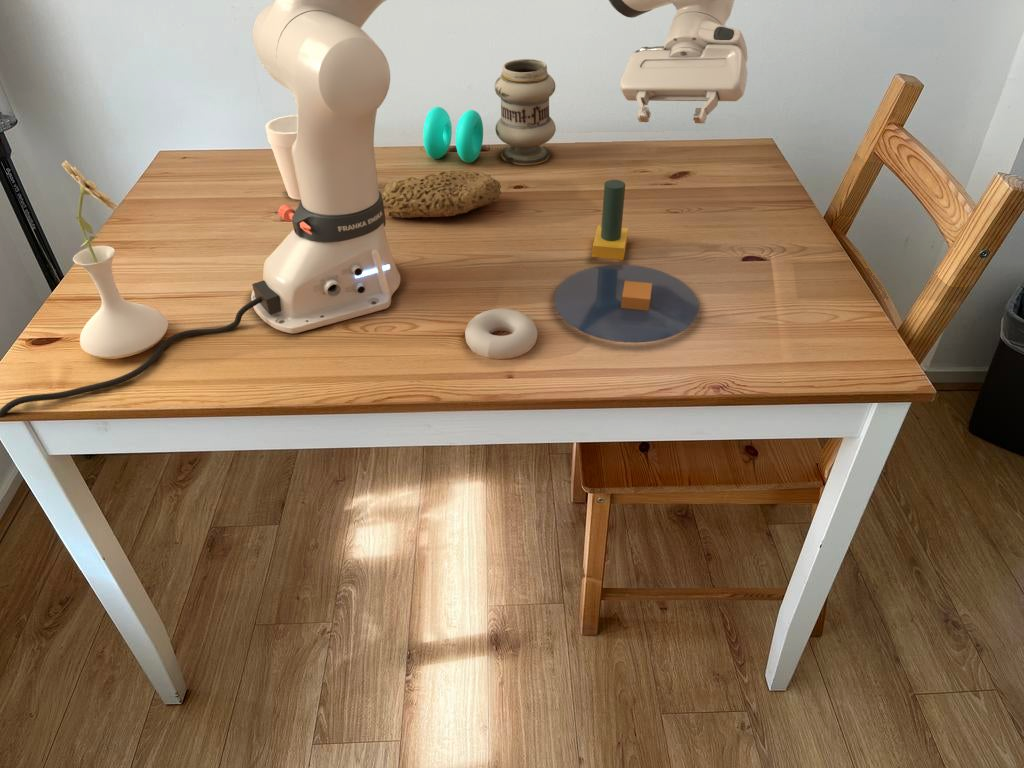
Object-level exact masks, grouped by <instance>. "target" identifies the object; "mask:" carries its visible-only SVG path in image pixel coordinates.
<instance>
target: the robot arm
mask: <svg viewBox="0 0 1024 768" xmlns="http://www.w3.org/2000/svg"><path fill="white" fill-rule="evenodd" d="M386 1H387V0H274V1H272V3H270V4H268V5H267V6H266V7H264V8H263V9H262V10H261V11H260V12H259V13H258V15H257V17H256V19H255V21H254V24H253V28H252V37H251V39H252V45H253V49H254V52H255V54H256V56H257V58H258V60H259V62H260V63H261V65H262V67H263V69H264V70H265V71H266V73H267V74H268V75H269V76H270V77H271V79H273V80H274V81H275V82H277V83H278V84H279V85H281V86H282V87H284V88H285V89H287V90H289V91H290V93H291V95H292V98H293V100H294V103H295V107H296V115H297V137H296V141H295V142H294V144H293V146H292V157H293V162H294V167H295V172H296V177H297V182H298V187H299V192H300V197H301V199H300V200H299V202H298V205H297V208H296V210H295V209H294V208H292V206H289V205H288V204H282V205H280V206H279V208H278V209H277V214H278V216H279V218H281V219H283V221H284V222H286V223H292V227H293V229H292V230H291V231H290V232H289V234H288V235H287V236H286V237H285V238H284V239H283V240H282V241H281V242H280V244H279V245H278V246H277V247H276V248H275V249H273V251H272V253H270V254H269V256H268V257H266V259H265V260H264V263H263V267H262V269H263V270H262V280H260V281H257V282H254V283H252V284H251V286H252V292H251V294H250V295H251V296H250V298H251V301H249V302H248V303H246V304H245V305H243V306H242V307H241V308H240V309H239V310H237V312H236V315H235V319H234V320H233V322H231V323H230V324H227V325H225V326H222V327H217V328H199V329H198V328H196V329H187V330H184V331H180V332H177V333H175V334H173V335H171V336H169V337H167V338H166V339H165V340H164V341H162V342H161V343H160V344H159V345H158V346H157V347H156V348H155V349H154V351H153V352H152V353H151V355H149V357H148V358H147V359H146V361H145V362H143V363H142V364H141V365H140V366H138V367H137V368H135V369H133V370H132V371H129V372H127V373H125V374H123V375H121V376H118V377H115V378H113V379H110V380H106V381H102V382H97V383H93V384H90V385H84V386H81V387H76V388H72V389H70V390H64V391H58V392H52V393H51V392H50V393H38V394H30V395H25V396H24V395H23V396H20V397H16V398H14V399H12V400H10V401H8V402H6V404H4V405H3V406H2V407H1V408H0V419H1V418H3V417H5V416H6V414H7V413H8V412H9V411H10V410H12V409H14V408H15V407H17V406H19V405H22V404H26V403H32V402H33V403H34V402H40V401H54V400H61V399H66V398H71V397H74V396H78V395H81V394H82V395H83V394H87V393H90V392H94V391H95V392H96V391H99V390H104V389H107V388H110V387H115V386H117V385H120V384H122V383H125V382H127V381H130V380H131V379H134V378H136V377H138V376H139V375H141V374H142V373H144V372H146V371H147V370H148V369H149V368H150V367H151V366H152V365H153V364H154V362H155V361H156V360H157V359H158V357H159V356H160V355H161V353H163V351H164V350H165V349H166V348H167V347H169V346H170V345H171V344H173V343H174V342H176V341H178V340H180V339H181V340H182V339H183V338H186V337H192V336H205V335H214V334H221V333H222V334H223V333H227V332H230V331H232V330H234V329H236V328H237V327H238V326H239V325H240V324H241V321H242V318H243V315H245V313H246V312H248V311H249V310H251V309H252V308H253V310H254V312H255V313H256V314H257V316H258V317H259V318H260V319H261V320H262V321H263V322H265V324H267V325H269V326H270V327H271V328H273V329H275V330H277V331H280V332H283V333H287V334H291V335H292V334H293V335H294V334H298V333H302V332H306V331H310V330H314V329H317V328H320V327H325V326H328V325H332V324H336V323H340V322H343V321H347V320H350V319H354V318H357V317H361V316H365V315H368V314H372V313H376V312H380V311H383V310H386V309H389V307H390V306H391V303H392V296H393V295H394V294H395V292H396V291H397V290H398V289H399V287H400V284H401V274H400V272H399V270H398V268H397V266H396V264H395V261H394V257H393V255H392V252H391V249H390V244H389V242H388V238H387V237H388V236H387V233H386V229H385V227H386V223H387V222H386V212H385V210H384V204H383V198H382V194H383V193H382V192H381V191H380V190H379V181H378V173H377V165H376V163H377V162H376V157H375V155H376V154H375V128H376V119H377V114H378V109H379V108H380V107H381V106H382V105H383V103H384V101H385V99H386V98H387V95H388V93H389V90H390V86H391V85H390V84H391V69H390V65H389V61H388V59H387V57H386V55H385V53H384V51H383V50H382V49H381V48H380V46H379V45H378V44H377V43H376V42H375V41H374V40H373V38H372V37H371V36H370V35H369V34H368V33H367V32H366V31H365V30H364V29H363V28H362V27H363V26H364V24H365V23H366V22H367V20H369V18H370V17H371V15H372V14H373V13H374V12H375V11H376V10H377V9H378V8H379V7H380V6H381V5H382V4H383V3H385V2H386ZM608 2H609V3H610V5H611V6H612V7H613V8H614V10H615V11H616V12H618V13H619V14H621V15H622V16H624V17H626V18H633V19H634V18H636V17H637V18H638V17H639V16H641V15H644V14H646V13H648V12H650V11H652V10H655V9H658V8H661V7H664V6H667V5H672V6H674V7H675V9H676V13H675V15H674V17H673V18H672V21H671V24H670V27H669V30H668V33H667V36H666V40H665V43H664V45H661V46H658V45H657V46H643V47H640V49H638V50H635V51H634V52H631V54H630V56H629V60H628V62H627V65H626V66H625V69H624V72H623V74H622V75H621V79H620V81H619V89H620V91H621V94H622V95H623V97H624V98H625V99H626V100H627V101H630V102H631V101H632V102H633V101H634V102H635V101H636V102H637V105H638V108H639V109H638V111H637V120H638V122H639V123H649V122H650V118H651V115H652V113H651V111H650V108H649V107H648V105H649V103H650V102H662V101H663V102H704V104H703V105H702V106H701V107H696V108H695V109H694V114H693V121H694V124H705V123H706V122H707V121H706V120H707V117H708V115H710V114H711V113H712V111H714V109H716V108H717V107H718V104H719V102H738V101H739V100H740V99H741V98H742V97H743V96H744V94H745V91H746V87H747V81H748V67H747V62H748V57H749V55H748V49H747V48H748V47H747V44H746V40H745V37H744V34H743V33H742V31H741V30H740V29H737V28H734V27H729V26H727V25H726V23H727V21H728V20H729V18H730V17H731V15H732V10H733V7H734V4H735V0H608ZM646 106H647V107H646Z"/></svg>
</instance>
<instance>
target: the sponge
mask: <svg viewBox="0 0 1024 768" xmlns="http://www.w3.org/2000/svg"><path fill="white" fill-rule="evenodd" d="M501 188H502V185H501V182H500V181H499V180H497V179H495V178H494V177H491V175H490V174H488V173H484V172H477V171H467V170H461V171H458V170H448V171H443V170H442V171H439V172H436V173H430V174H428V175H425V176H424V177H419V178H417V177H415V176H411V177H407V178H405V179H400V180H394V181H389V182H388V183H387V184H386V185H385V186H384V192H383V193H381V194H382V198H383V204H384V210H385V215H387V216H388V217H393V218H403V219H404V218H406V219H407V218H408V219H412V218H421V217H422V218H430V217H431V218H440V217H441V218H442V217H455V216H456V215H461V214H466V213H469V212H470V211H473V210H475V209H478V208H481V207H485V206H487V205H490V204H491V203H492V202H494V201H496V200H497V199H498V198H499V197H500V195H502V191H501Z"/></svg>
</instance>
